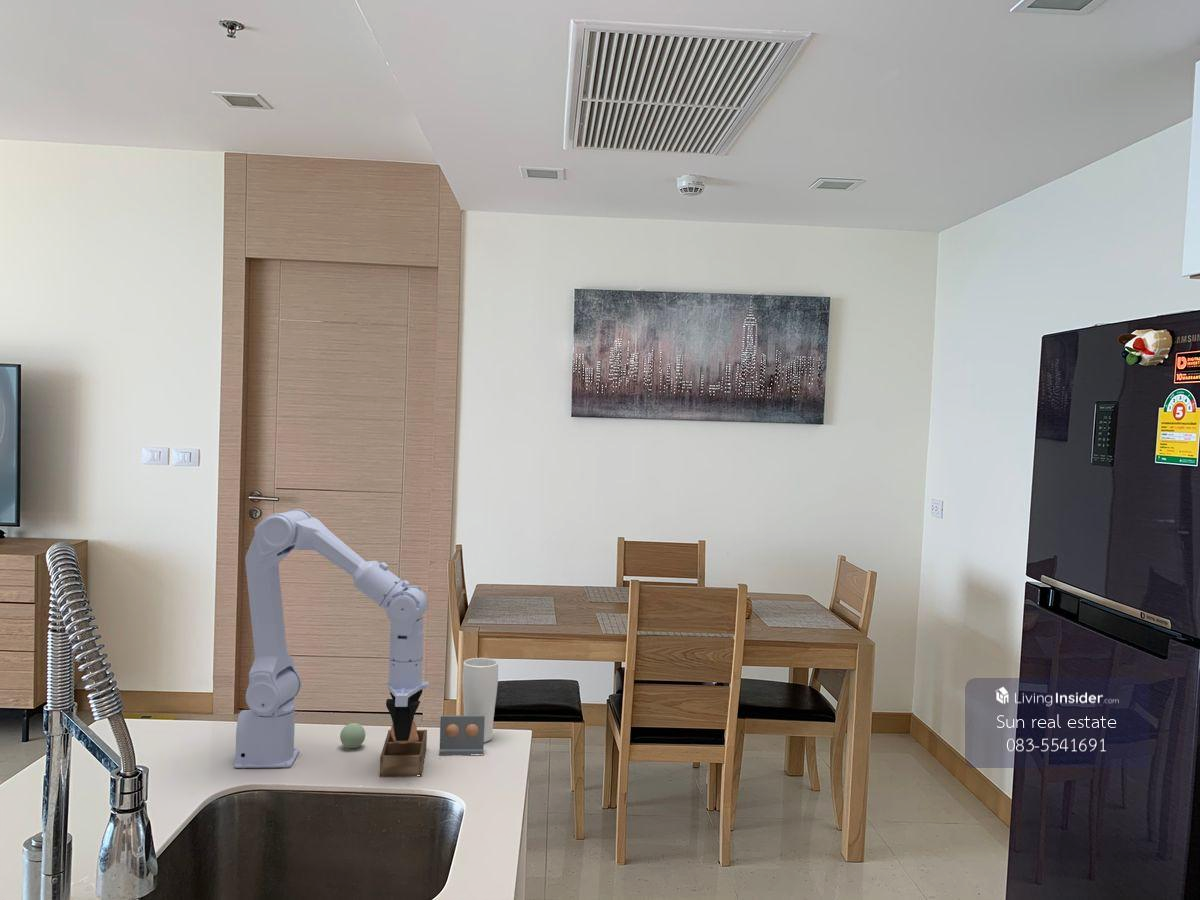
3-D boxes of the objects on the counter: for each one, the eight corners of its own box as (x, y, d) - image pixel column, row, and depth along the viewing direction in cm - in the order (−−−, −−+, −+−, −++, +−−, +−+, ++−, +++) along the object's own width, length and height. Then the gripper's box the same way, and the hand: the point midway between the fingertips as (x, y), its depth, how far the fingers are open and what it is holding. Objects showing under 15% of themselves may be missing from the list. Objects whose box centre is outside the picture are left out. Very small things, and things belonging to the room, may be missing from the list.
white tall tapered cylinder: (478, 748, 171) (481, 668, 171) (452, 739, 175) (455, 661, 175) (503, 739, 177) (505, 662, 176) (478, 731, 181) (480, 655, 180)
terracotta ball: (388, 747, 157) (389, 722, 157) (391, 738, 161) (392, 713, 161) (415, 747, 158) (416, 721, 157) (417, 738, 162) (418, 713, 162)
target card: (439, 755, 167) (440, 718, 166) (439, 749, 170) (441, 713, 169) (483, 755, 168) (484, 718, 167) (483, 749, 171) (484, 713, 170)
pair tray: (379, 776, 156) (380, 756, 156) (387, 748, 169) (388, 730, 169) (421, 776, 157) (422, 756, 156) (426, 748, 170) (427, 729, 170)
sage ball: (338, 752, 166) (338, 727, 166) (341, 743, 171) (342, 719, 171) (363, 751, 167) (364, 727, 167) (366, 743, 172) (367, 719, 171)
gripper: (426, 669, 152) (424, 750, 153) (431, 647, 167) (429, 721, 167) (383, 669, 152) (380, 750, 152) (392, 647, 166) (389, 721, 166)
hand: (403, 735), depth 159 cm, fingers closed on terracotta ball, 4 cm apart
